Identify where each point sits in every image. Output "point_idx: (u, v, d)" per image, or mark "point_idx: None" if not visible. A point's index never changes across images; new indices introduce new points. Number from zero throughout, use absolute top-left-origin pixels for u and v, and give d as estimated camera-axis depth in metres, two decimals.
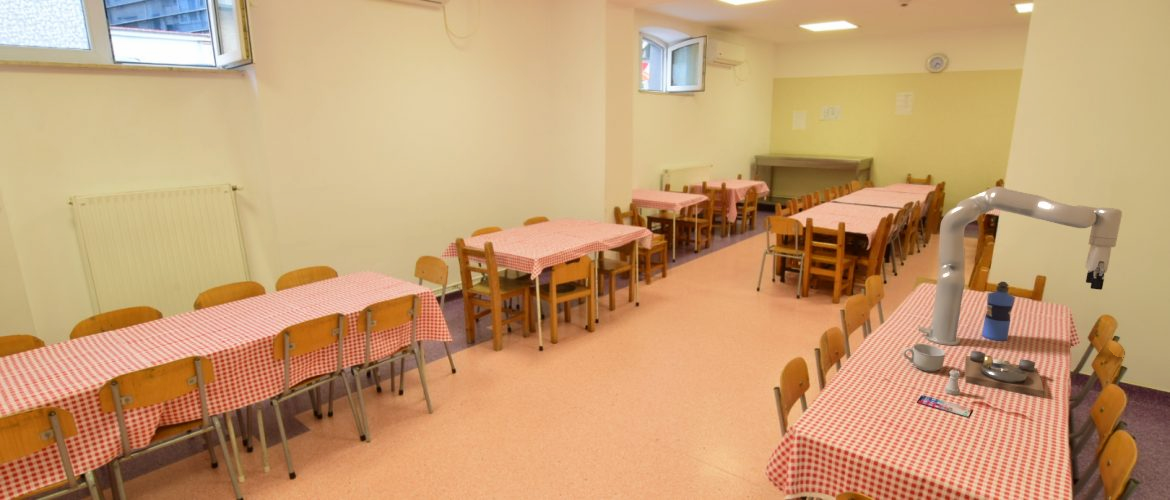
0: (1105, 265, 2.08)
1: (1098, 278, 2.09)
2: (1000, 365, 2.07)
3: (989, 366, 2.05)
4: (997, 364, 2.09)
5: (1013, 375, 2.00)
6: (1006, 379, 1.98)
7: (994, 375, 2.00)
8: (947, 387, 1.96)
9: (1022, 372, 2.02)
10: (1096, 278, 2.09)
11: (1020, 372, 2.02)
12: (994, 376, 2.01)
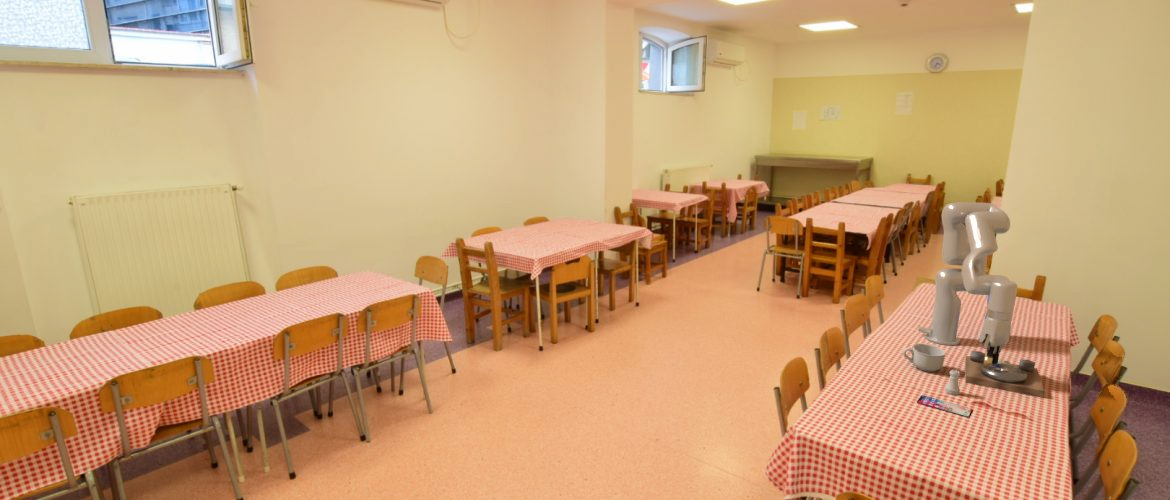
0: (991, 338, 2.02)
1: (989, 352, 2.06)
2: (1000, 365, 2.07)
3: (989, 366, 2.05)
4: (996, 364, 2.09)
5: (1014, 375, 2.00)
6: (1007, 379, 1.98)
7: (995, 375, 2.00)
8: (947, 387, 1.96)
9: (1022, 372, 2.02)
10: (988, 351, 2.07)
11: (1020, 372, 2.02)
12: (994, 376, 2.00)
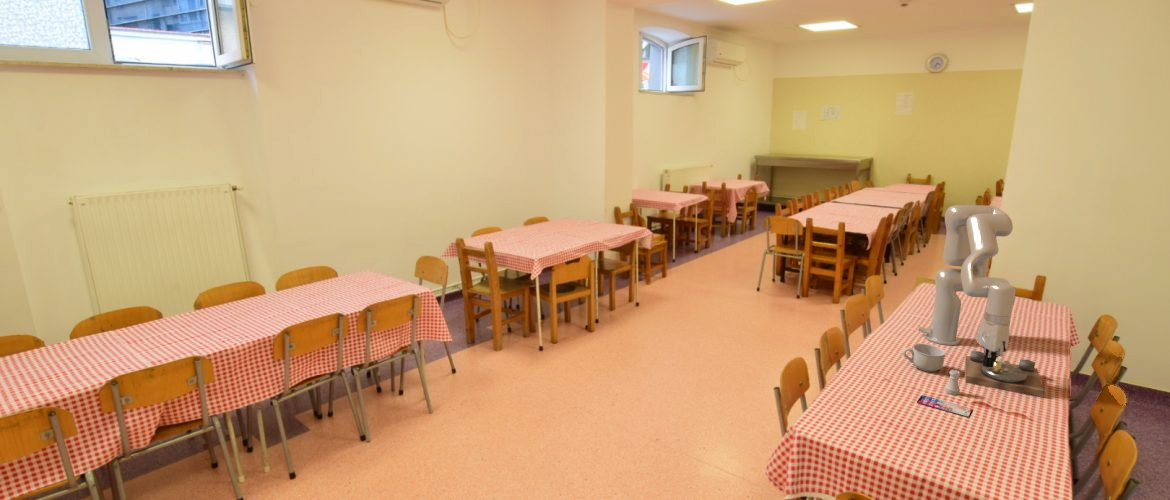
0: (1006, 344, 1.97)
1: (993, 357, 2.02)
2: None
3: (1000, 371, 2.01)
4: None
5: (1017, 372, 2.02)
6: (1024, 379, 1.98)
7: (1017, 379, 1.97)
8: (947, 387, 1.96)
9: (1008, 366, 2.07)
10: (991, 357, 2.02)
11: (1008, 366, 2.06)
12: (1016, 380, 1.97)
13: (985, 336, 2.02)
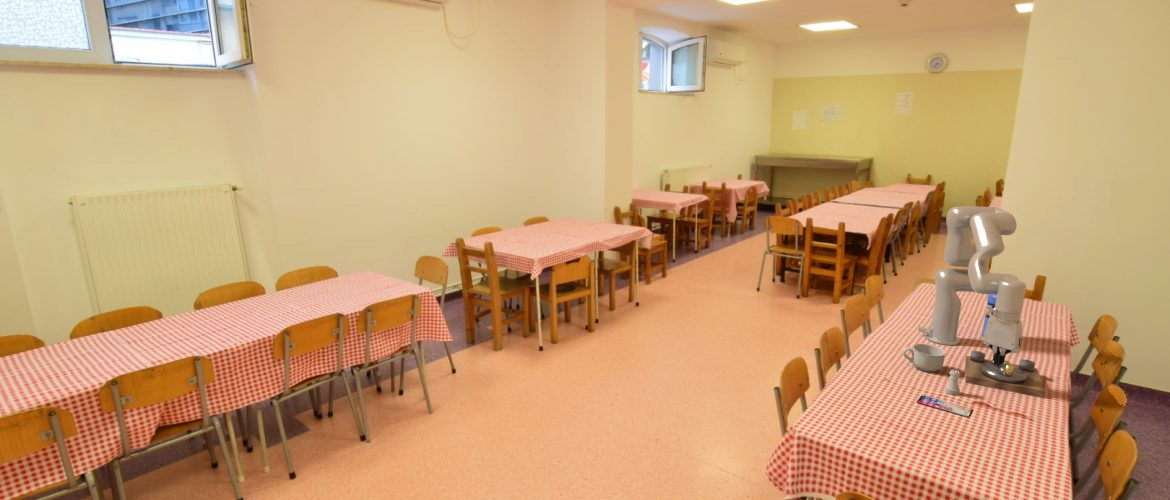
0: (1021, 340, 1.95)
1: (1005, 354, 1.98)
2: (990, 369, 2.04)
3: None
4: (988, 369, 2.04)
5: None
6: None
7: (1025, 377, 1.99)
8: (947, 387, 1.96)
9: None
10: (1004, 355, 1.98)
11: None
12: (1025, 378, 1.99)
13: (999, 335, 1.97)
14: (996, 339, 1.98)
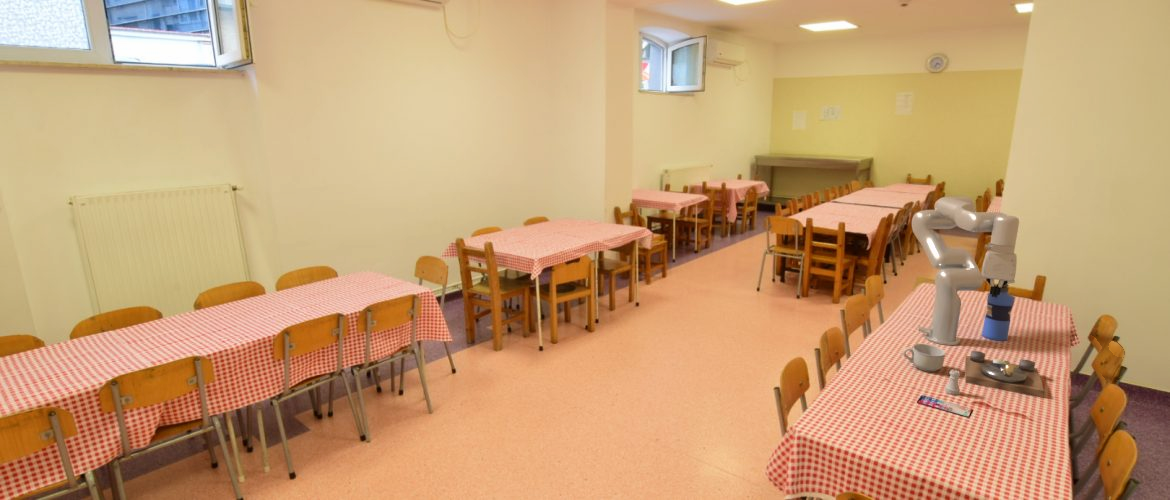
0: None
1: (1001, 286, 2.13)
2: (990, 369, 2.04)
3: None
4: (988, 369, 2.04)
5: None
6: None
7: (1025, 377, 1.99)
8: (947, 387, 1.96)
9: (995, 364, 2.09)
10: (1001, 286, 2.13)
11: (997, 364, 2.08)
12: (1025, 378, 1.99)
13: (998, 268, 2.11)
14: (996, 272, 2.11)
